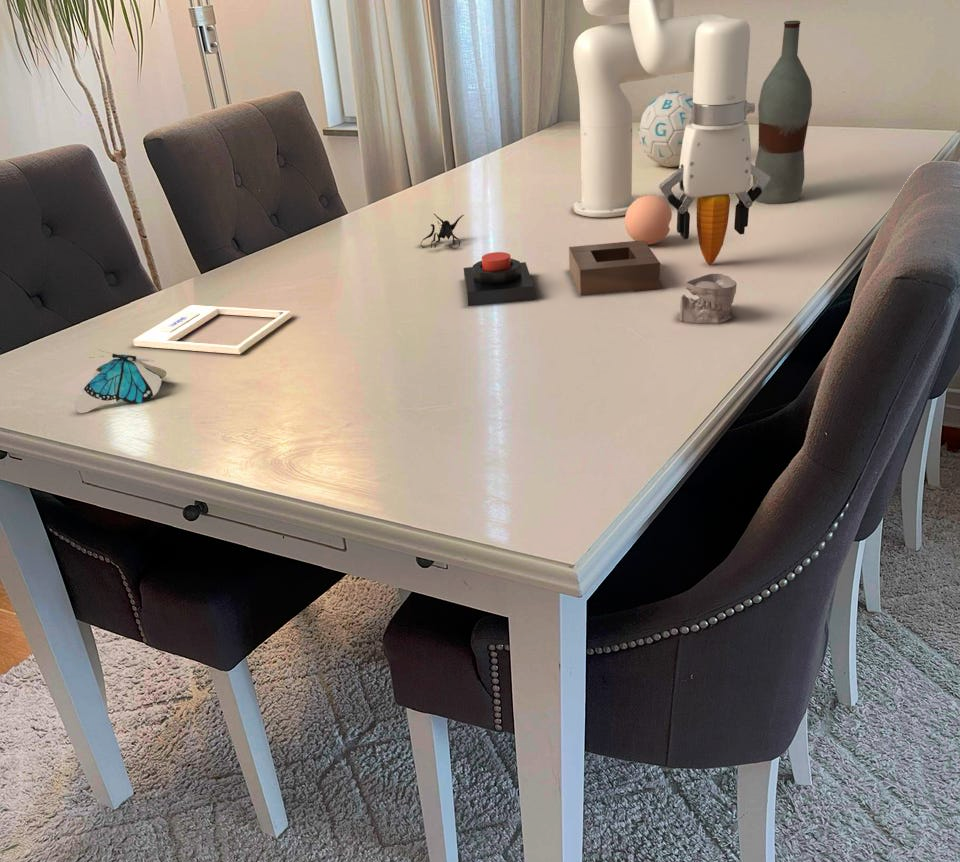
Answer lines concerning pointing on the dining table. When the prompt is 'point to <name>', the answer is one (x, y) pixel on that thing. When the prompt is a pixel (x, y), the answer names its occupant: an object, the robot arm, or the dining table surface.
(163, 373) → the decorative butterfly
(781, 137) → the bottle
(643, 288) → the holder
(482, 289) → the panel
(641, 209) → the toy ball
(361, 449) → the dining table surface
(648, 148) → the puzzle ball
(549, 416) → the dining table surface
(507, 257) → the button
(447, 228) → the creature
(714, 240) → the carrot
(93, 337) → the dining table surface
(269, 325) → the photo frame
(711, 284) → the dental mold
